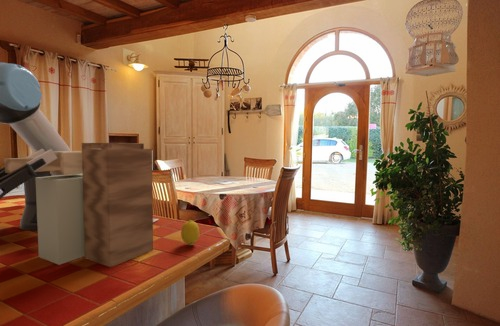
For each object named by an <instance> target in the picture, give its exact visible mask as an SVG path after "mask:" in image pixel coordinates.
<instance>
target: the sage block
mask: <svg viewBox="0 0 500 326" xmlns="http://www.w3.org/2000/svg"><path fill="white" fill-rule="evenodd" d="M36 201H37V225H38V230H37V242H38V243H37V245H38V257H39V258H40V259H43V260H45V261H48V262H51V263H53V264H56V265H58V266H61V265H63V264H66V263H69V262H71V261H74V260H77V259H80V258H83V257H84V258H85V241H84V207H83V174H74V175H58V176H47V177H36Z"/></svg>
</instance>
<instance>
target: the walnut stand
mask: <svg viewBox="0 0 500 326" xmlns="http://www.w3.org/2000/svg"><path fill="white" fill-rule="evenodd" d="M144 146H145V145H144V143H135V142H134V143H133V142H81V151H82V174H83V207H84V241H85V256H84V259H86V260H88V259H89V261H91V262H94V263H97V264H100V265H104V266H106V267H108V268H112V267H115V266H117V265H120V264H122V263H125V262H128V261H129V260H133V259H135V258H137V257H139V256H142V255H145V254H148V253H149V252H152V251H154V223H153V222H154V221H153V219H154V216H153V215H154V214H153V211H154V208H153V205H154V203H153V202H154V201H153V199H154V197H153V148H147V147H146V148H144Z"/></svg>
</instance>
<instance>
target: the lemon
mask: <svg viewBox="0 0 500 326" xmlns="http://www.w3.org/2000/svg"><path fill="white" fill-rule="evenodd" d="M180 234H181V235H180V236H181V239H182V241H183V242H184V243H185V244H188V246H192V245H193V244H194V243H196V242H197V241H198V239H199V237H200V228H199V225H198V223H197V222H195V221H194V220H192V219H189V220H188V221H185V223H183V225H182V227H181V231H180Z"/></svg>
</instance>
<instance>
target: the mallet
mask: <svg viewBox="0 0 500 326" xmlns="http://www.w3.org/2000/svg"><path fill="white" fill-rule="evenodd" d="M54 153H55V155H56V156H57V159H55V160H54V161H52V162H50V163H49V164H47V165H45V166H44V167H42V168H40V169H39V170H37V171H36V172H41V171H50V174H58V175H74V174H82V150H71V151H59V152H54ZM34 158H36V157H34ZM34 158H26V157H16V158H13V157H12V158H11V157H10V158H4V159H3V160H4V166H5V173H11V172H13V171H15V170H17V169H19V168H21V167H23V166H25V165H26V163H27V162H29V161H30V160H32V159H34Z"/></svg>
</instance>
